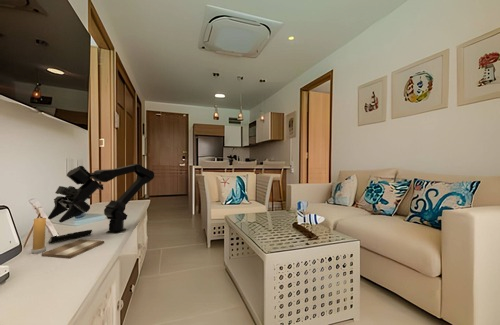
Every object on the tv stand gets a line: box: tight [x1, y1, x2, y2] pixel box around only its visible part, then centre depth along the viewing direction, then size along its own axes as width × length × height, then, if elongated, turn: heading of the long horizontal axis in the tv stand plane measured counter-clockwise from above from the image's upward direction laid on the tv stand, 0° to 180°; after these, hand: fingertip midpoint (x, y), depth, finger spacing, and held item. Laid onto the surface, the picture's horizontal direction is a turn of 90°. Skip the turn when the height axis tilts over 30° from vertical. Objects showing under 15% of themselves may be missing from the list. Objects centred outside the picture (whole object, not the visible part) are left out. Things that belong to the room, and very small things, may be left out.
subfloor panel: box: [40, 238, 105, 259], centre depth 88 cm, size 16×12×1 cm
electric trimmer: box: [48, 229, 93, 245], centre depth 100 cm, size 4×16×3 cm, turn 140°
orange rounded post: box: [30, 217, 47, 255], centre depth 84 cm, size 4×4×13 cm
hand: (54, 220), depth 88 cm, fingers open, 9 cm apart
